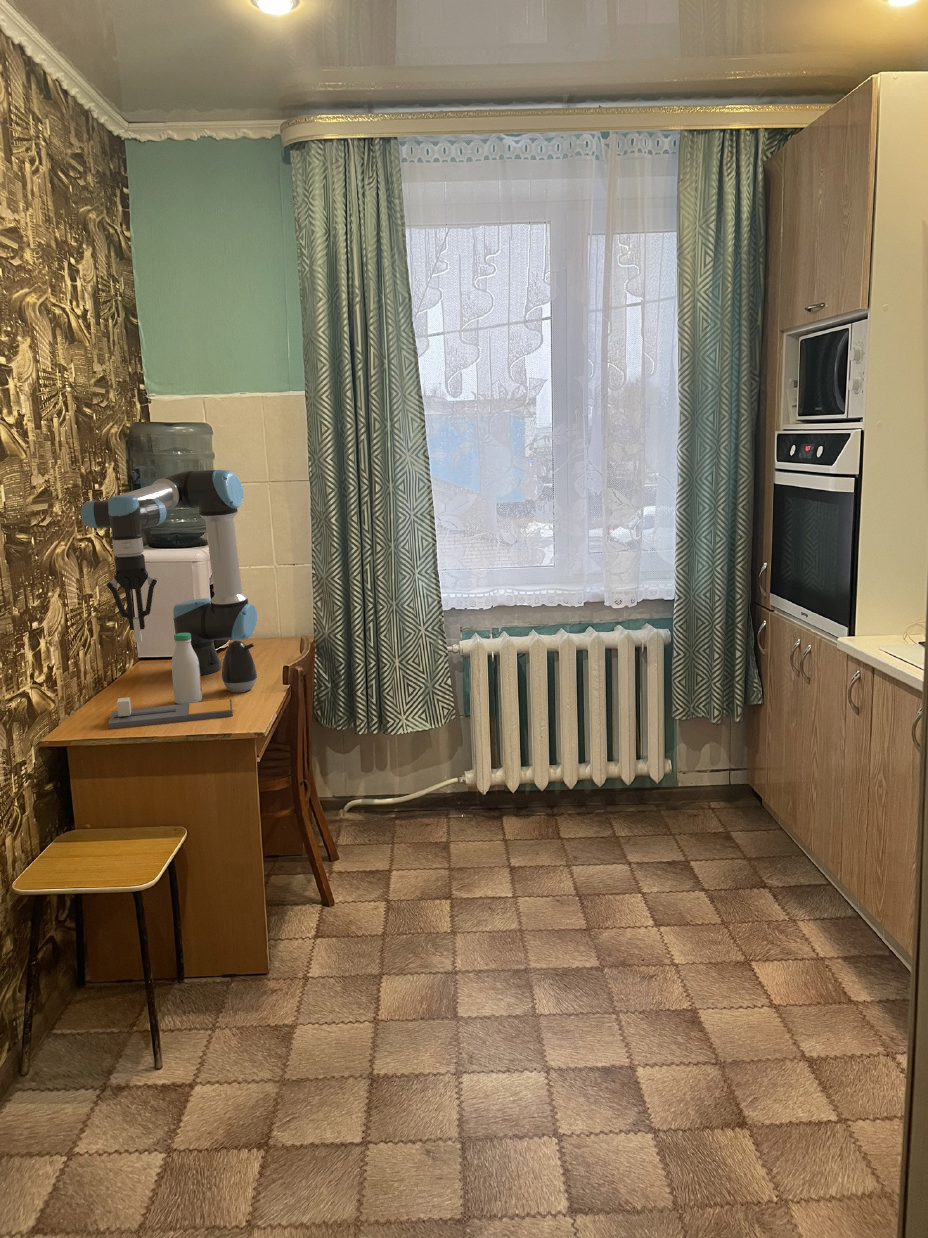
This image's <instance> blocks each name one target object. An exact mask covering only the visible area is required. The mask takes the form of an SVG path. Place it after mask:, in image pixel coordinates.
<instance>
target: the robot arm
mask: <svg viewBox="0 0 928 1238" xmlns="http://www.w3.org/2000/svg"><path fill="white" fill-rule="evenodd" d="M243 499H244V489H243V486H242V482H241V480H240V478H239V477H238V475H237V474H236V473H235V472H233V471H231V470H226V469H225V470H224V469H208V470H207V469H206V470H205V469H204V470H185V471H181V472H177V473H173V474H170V475H168V476H165V477H161V478H158V479H156V480H155V481H153V483H152V484H150V485H148V486H144V487H142V488H139V489H135V490H132V491H128V492H125V493H121V494H119V495H112V496H111V497H109V498H107V499H105V498H104V499H102V500H97V499H95V500H89V501H86V502H84V504H83V505H82V506H81V510H80V515H81V521H82V523H83V525H84V526H86V527H87V528H91V529H97V530H98V529H111V530H110V531H111V540H112V542H111V543H112V550H113V554H114V555H115V557H114V559H113V560H114V565H115V574H114V578H113V579H112V580H110V581H108V582H107V583H106V587H107V588H108V589H109V590H110V591H111V594H112V597H113V598H114V601H115V604H116V606H117V609H118V612H119V615H120V617H121V618H127V619H128V625H129V630H130V631H134V633H133V634H134V642H135V643H136V644H137V643H138V644H139V643H142V642H143V636H142V630H145V627H146V624H145V617H146V616H149V615H150V614H151V610H152V602H153V597H154V589H155V587H156V585H157V581H158V578H156V577H152V576H150V575H149V573H148V571H147V567H146V561H145V560H146V559H145V555H144V553H143V552H144V551H145V549H144V541H143V533H142V530H143V529H147V528H152V527H153V528H155V527H157V526H159V525H161V524H162V523H164V522H165V520H166V518H167V515H168V514H167V512H168V511H169V510H172V509H193V510H194V509H195V510H197V509H198V513H199V517H201V518H202V519H203V520H204V522H205V529H206V530H205V531H206V537H207V545H208V552H209V553H208V554H209V562H210V568H211V577H212V584H213V585H212V586H213V592H214V595H213V596H212V597H211V599H209V598H207V597H205V598H196V599H192V600H186V601H182V602H179V603H176V605H174V606H173V610H172V612H173V613H172V614H173V618H172V619H173V624H174V625H173V626H174V635H175V634H178V633H190V634H191V646H192V648H193V650H194V652H195V653H196V655H197V658H198V662H199V669H200V676H204V675H208V674H213V673H216V672H218V671H219V672H220V670H221V669H222V662H221V659H220V656H219V655H218V653H217V650H216V648H215V644H214V641H215V640H216V641H221V640H222V641H232V642H233V641H245V640H248V639H249V638H250V637H251V636H252V635H253V634H254V632H255V630H256V627H257V622H258V611H257V609H256V606H255V605H254V604H253V603H249V598H248V595H246V593H244V592H243V587H242V579H241V571H240V563H239V555H238V546H237V537H236V530H235V529H236V527H235V520H234V518H235V516H236V515H237V514H238V513H239V512H238V511H239V510H238V508H240V507H241V506H242V505H243V501H244V500H243ZM146 581H147V585H148V591H147V595H146V596H147V597H146V603H145V604H146V605H145V610H144V608H143V607H144V606H143V598H142V597H143V595H142V587H143V586H144V584H145V583H146ZM118 585H120V587H121V588H122V589H123V590H124V593H125V600H126V608H125V606H124V603H123V601H122V598H121V595H120V593H119V591H118V588H117V587H118ZM132 590H134V591H135V598H136V599H135V600H136V607H137V616H134V608H133V597H132ZM126 610H127V611H126Z"/></svg>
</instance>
